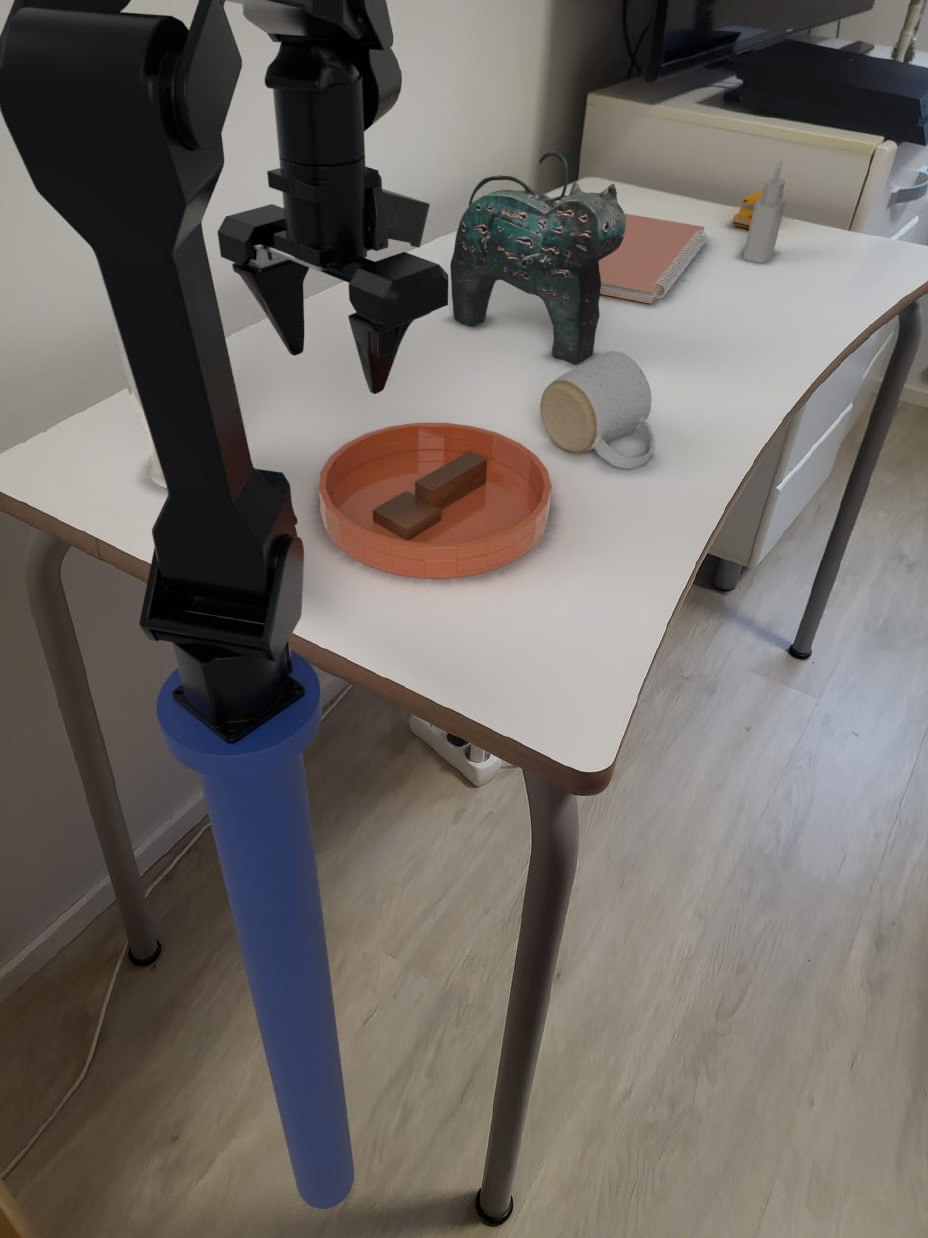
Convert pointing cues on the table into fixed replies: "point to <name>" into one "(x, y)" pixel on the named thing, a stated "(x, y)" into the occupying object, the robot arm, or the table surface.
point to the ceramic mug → (599, 408)
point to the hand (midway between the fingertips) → (335, 372)
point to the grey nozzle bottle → (766, 220)
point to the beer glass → (138, 408)
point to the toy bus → (747, 210)
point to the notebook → (649, 258)
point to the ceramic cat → (538, 255)
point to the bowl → (469, 528)
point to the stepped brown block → (431, 496)
